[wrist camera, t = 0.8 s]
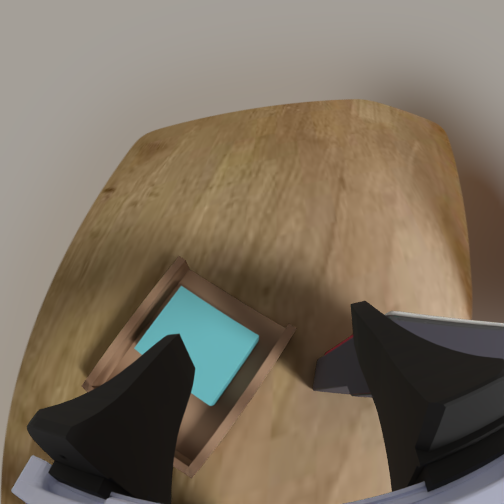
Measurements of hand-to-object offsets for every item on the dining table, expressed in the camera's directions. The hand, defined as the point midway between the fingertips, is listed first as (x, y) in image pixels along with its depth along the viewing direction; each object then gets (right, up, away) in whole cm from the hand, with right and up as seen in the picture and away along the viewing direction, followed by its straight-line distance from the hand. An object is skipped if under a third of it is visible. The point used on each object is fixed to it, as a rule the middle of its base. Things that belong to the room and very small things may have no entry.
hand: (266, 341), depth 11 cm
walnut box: (-6, -7, +13) cm, 16 cm away
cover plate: (-5, -5, +13) cm, 15 cm away
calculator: (+10, -8, +12) cm, 18 cm away
